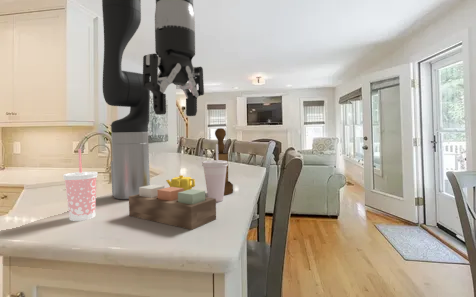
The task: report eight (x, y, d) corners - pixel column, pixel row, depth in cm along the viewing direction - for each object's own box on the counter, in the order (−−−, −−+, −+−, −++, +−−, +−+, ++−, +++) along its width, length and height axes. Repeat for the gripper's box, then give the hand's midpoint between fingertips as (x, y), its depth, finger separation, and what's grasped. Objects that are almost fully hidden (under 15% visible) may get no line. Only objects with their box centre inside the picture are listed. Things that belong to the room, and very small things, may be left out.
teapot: (162, 196, 76) (162, 177, 76) (169, 192, 82) (168, 174, 82) (192, 196, 76) (191, 177, 75) (196, 192, 81) (196, 174, 81)
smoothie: (225, 203, 67) (224, 144, 66) (199, 202, 68) (197, 144, 68) (231, 197, 73) (230, 143, 73) (207, 196, 75) (206, 143, 74)
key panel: (129, 215, 59) (128, 196, 58) (155, 207, 64) (155, 190, 64) (191, 229, 49) (191, 206, 49) (216, 219, 55) (215, 198, 55)
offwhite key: (139, 201, 59) (139, 187, 59) (153, 198, 62) (152, 184, 62) (151, 203, 57) (150, 188, 57) (164, 200, 60) (164, 185, 60)
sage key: (178, 208, 53) (177, 192, 53) (191, 204, 56) (190, 189, 56) (192, 211, 51) (192, 194, 51) (205, 206, 54) (205, 191, 54)
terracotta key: (157, 204, 56) (157, 189, 56) (171, 201, 59) (170, 186, 59) (171, 207, 54) (170, 191, 54) (184, 203, 57) (183, 188, 57)
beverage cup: (82, 223, 54) (79, 149, 53) (57, 220, 56) (54, 149, 55) (106, 214, 60) (103, 147, 59) (82, 212, 62) (79, 147, 61)
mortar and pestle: (232, 195, 76) (231, 127, 75) (208, 195, 77) (207, 128, 76) (233, 190, 83) (232, 128, 82) (211, 190, 83) (209, 128, 82)
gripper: (185, 43, 63) (186, 117, 64) (131, 23, 51) (133, 114, 52) (213, 37, 59) (213, 116, 60) (161, 13, 47) (163, 113, 48)
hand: (176, 115), depth 56 cm, fingers open, 8 cm apart
